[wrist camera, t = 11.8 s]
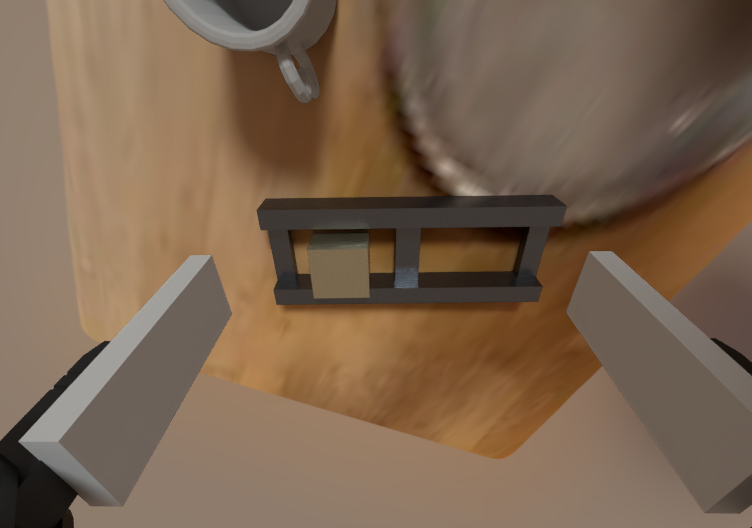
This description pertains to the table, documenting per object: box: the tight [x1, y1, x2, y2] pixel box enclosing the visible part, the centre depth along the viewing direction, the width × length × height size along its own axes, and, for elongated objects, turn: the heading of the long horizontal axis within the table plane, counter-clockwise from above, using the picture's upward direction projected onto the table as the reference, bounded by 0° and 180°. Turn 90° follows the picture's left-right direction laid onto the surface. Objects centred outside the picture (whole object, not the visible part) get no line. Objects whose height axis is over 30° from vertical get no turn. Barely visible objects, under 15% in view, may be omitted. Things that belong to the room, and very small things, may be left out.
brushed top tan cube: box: [307, 229, 370, 299], centre depth 34 cm, size 6×6×6 cm
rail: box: [257, 195, 567, 305], centre depth 35 cm, size 11×28×3 cm, turn 91°
